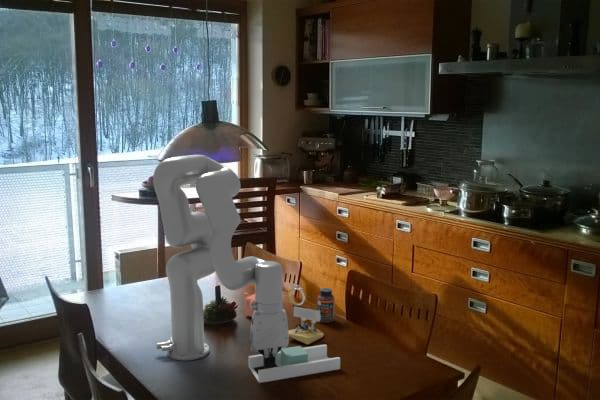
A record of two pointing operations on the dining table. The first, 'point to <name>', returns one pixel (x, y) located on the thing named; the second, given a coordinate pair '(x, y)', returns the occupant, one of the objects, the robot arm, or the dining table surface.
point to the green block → (293, 356)
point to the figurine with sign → (306, 326)
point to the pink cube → (248, 302)
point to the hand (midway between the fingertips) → (269, 368)
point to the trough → (295, 365)
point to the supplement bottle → (326, 305)
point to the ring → (301, 292)
